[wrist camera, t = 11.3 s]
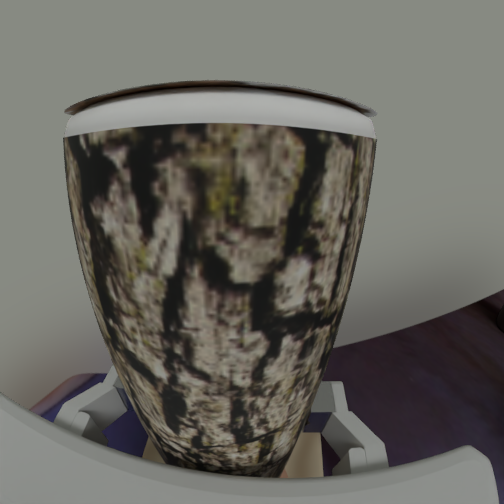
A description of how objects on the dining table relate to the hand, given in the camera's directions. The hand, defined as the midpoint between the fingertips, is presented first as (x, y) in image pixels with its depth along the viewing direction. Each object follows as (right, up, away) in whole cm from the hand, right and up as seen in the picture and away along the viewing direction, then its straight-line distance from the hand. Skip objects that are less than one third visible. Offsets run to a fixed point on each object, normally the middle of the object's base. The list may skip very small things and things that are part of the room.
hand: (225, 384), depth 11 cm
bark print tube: (-1, -14, +6) cm, 15 cm away
